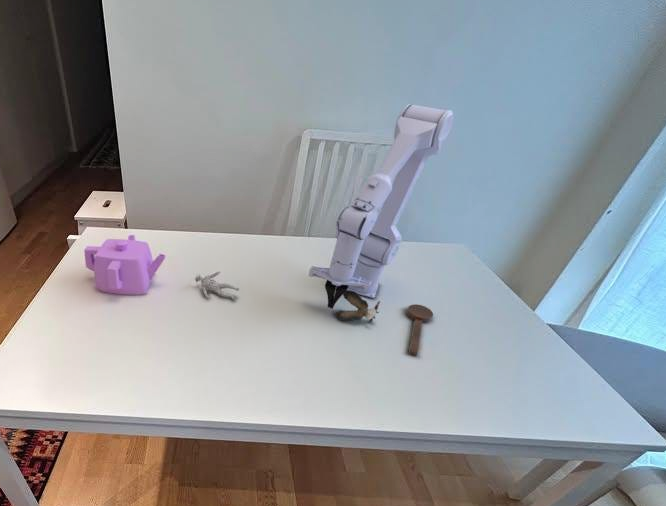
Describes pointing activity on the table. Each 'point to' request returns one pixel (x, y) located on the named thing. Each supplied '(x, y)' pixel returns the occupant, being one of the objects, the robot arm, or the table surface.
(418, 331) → the round wooden paddle
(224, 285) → the soldier figure
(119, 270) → the teakettle
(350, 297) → the eagle figurine
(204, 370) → the table surface
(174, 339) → the table surface
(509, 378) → the table surface
